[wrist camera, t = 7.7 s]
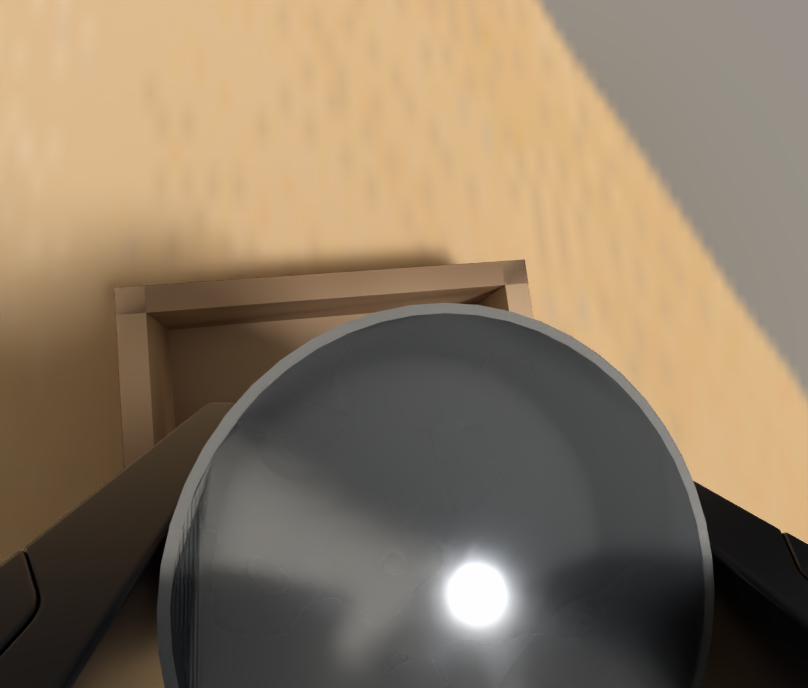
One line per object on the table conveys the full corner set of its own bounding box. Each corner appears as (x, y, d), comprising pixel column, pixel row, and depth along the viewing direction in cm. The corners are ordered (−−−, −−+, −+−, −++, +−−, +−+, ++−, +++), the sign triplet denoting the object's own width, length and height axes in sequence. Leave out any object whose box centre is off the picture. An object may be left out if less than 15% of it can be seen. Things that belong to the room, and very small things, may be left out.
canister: (289, 607, 14) (250, 1039, 4) (237, 419, 15) (90, 388, 5) (466, 540, 15) (790, 752, 5) (413, 367, 16) (611, 248, 6)
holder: (529, 616, 18) (586, 662, 15) (176, 687, 16) (140, 762, 12) (483, 290, 20) (524, 259, 16) (152, 316, 17) (114, 287, 14)
